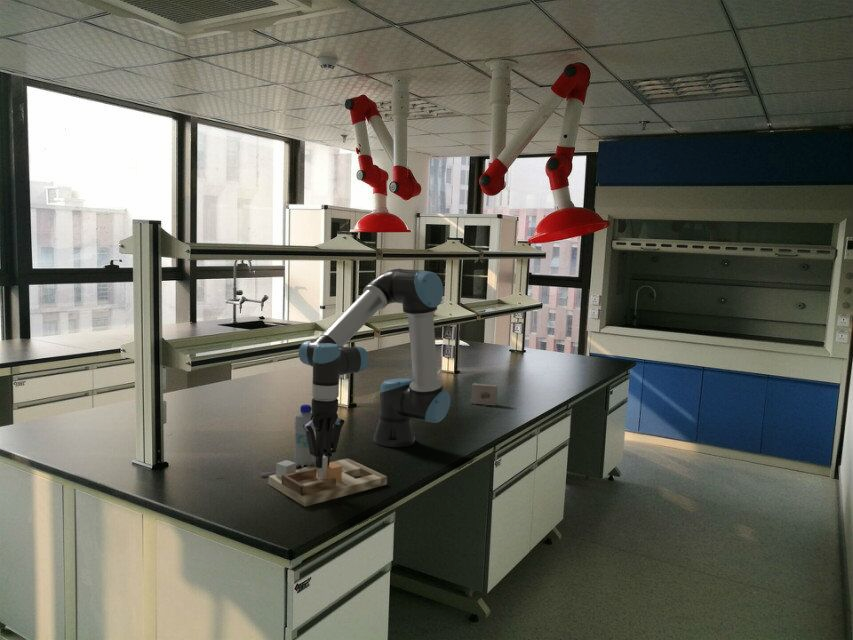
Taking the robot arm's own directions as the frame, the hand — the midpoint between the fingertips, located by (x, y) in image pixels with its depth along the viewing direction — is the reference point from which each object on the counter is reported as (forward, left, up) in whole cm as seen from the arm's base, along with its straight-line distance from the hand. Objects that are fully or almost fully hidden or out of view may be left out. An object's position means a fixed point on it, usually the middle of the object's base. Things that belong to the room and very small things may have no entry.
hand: (322, 477), depth 187 cm
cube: (-3, 0, -1) cm, 3 cm away
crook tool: (+4, -17, -4) cm, 18 cm away
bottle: (-7, -21, -4) cm, 22 cm away
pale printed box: (-120, -46, -4) cm, 129 cm away
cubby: (+4, 0, -1) cm, 5 cm away
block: (+6, -10, -1) cm, 12 cm away
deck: (-4, -3, -4) cm, 6 cm away
